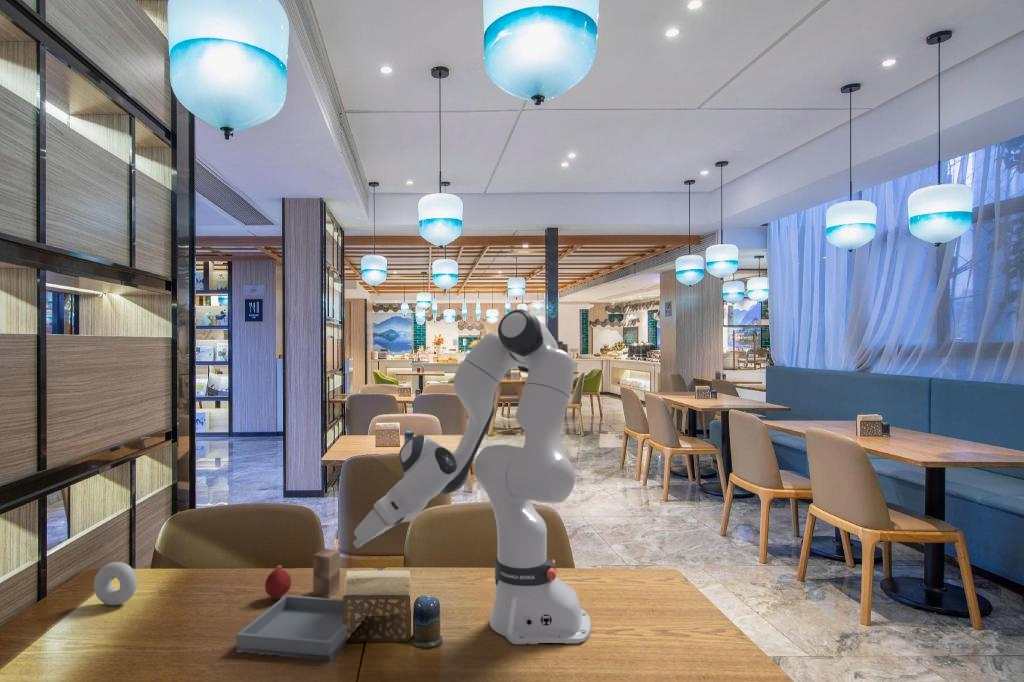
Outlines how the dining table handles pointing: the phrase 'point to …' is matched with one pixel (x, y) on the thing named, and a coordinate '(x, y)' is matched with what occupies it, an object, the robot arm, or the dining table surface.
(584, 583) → the dining table surface
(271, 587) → the onion
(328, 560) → the walnut block
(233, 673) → the dining table surface
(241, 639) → the tray
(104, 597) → the donut
